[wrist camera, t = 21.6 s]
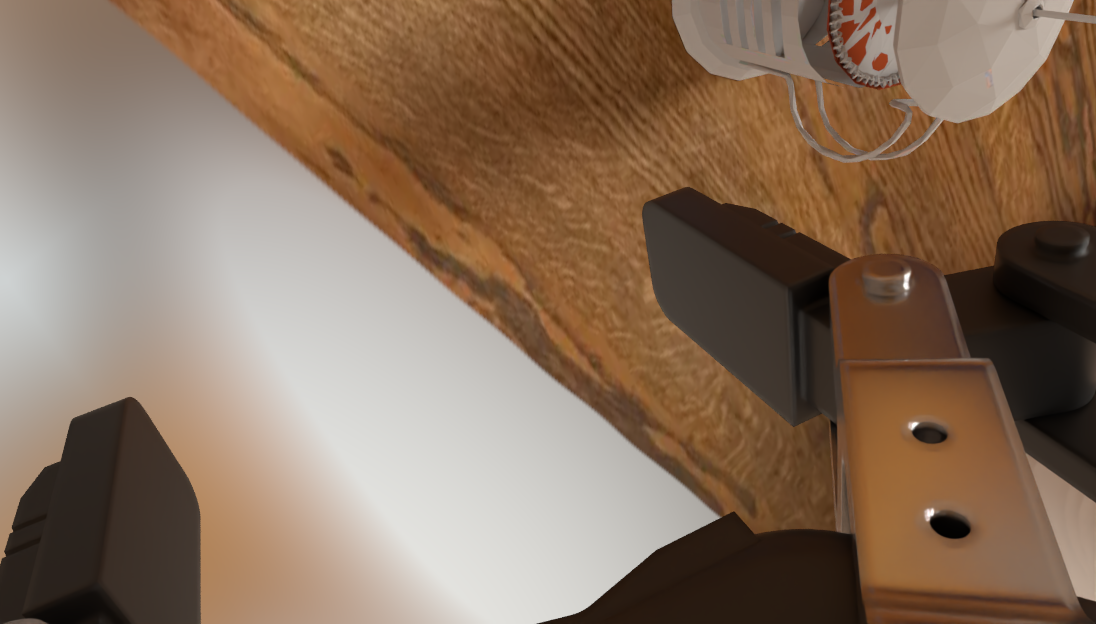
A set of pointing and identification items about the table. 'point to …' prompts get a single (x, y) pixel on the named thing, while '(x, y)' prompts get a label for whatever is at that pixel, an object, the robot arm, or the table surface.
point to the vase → (1070, 527)
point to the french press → (881, 50)
